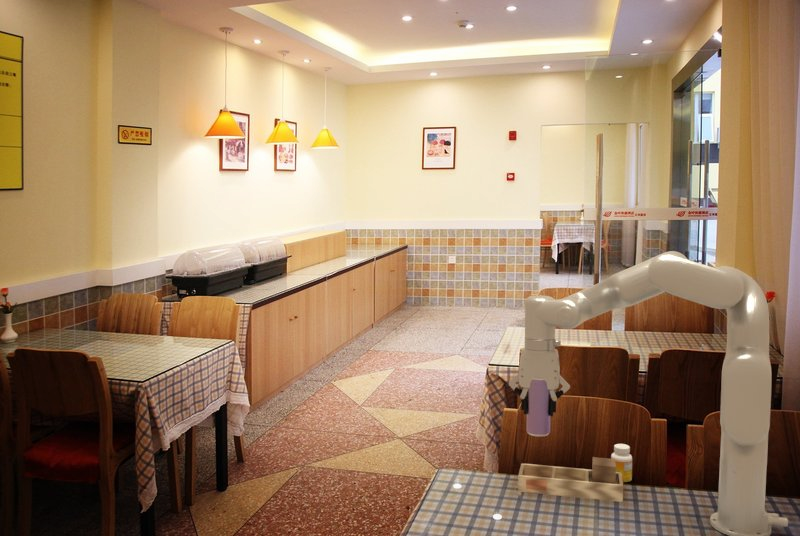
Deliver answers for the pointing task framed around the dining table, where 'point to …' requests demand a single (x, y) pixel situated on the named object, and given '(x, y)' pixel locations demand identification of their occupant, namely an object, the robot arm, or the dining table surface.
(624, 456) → the supplement bottle
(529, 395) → the beverage can
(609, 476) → the walnut block
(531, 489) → the rack
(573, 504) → the dining table surface
